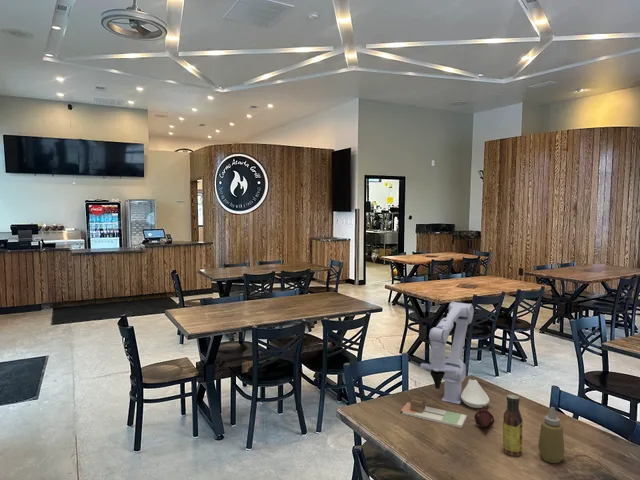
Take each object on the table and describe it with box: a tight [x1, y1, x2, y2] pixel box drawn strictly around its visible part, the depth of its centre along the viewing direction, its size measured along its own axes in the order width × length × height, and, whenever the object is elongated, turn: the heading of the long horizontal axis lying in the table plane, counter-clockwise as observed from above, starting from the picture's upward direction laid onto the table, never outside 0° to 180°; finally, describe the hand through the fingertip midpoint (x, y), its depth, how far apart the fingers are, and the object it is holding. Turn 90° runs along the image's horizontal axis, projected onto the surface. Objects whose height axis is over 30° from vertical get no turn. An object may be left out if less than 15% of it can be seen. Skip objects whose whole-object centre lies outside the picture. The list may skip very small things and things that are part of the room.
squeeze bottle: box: [537, 406, 566, 464], centre depth 147 cm, size 8×8×18 cm
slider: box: [409, 396, 426, 412], centre depth 182 cm, size 5×5×4 cm
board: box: [400, 401, 467, 429], centre depth 179 cm, size 10×25×1 cm, turn 61°
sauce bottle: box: [502, 394, 524, 457], centre depth 151 cm, size 7×6×20 cm
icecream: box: [474, 405, 495, 429], centre depth 170 cm, size 7×7×15 cm
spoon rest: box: [461, 378, 490, 409], centre depth 195 cm, size 24×12×7 cm, turn 166°
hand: (437, 388), depth 182 cm, fingers closed
